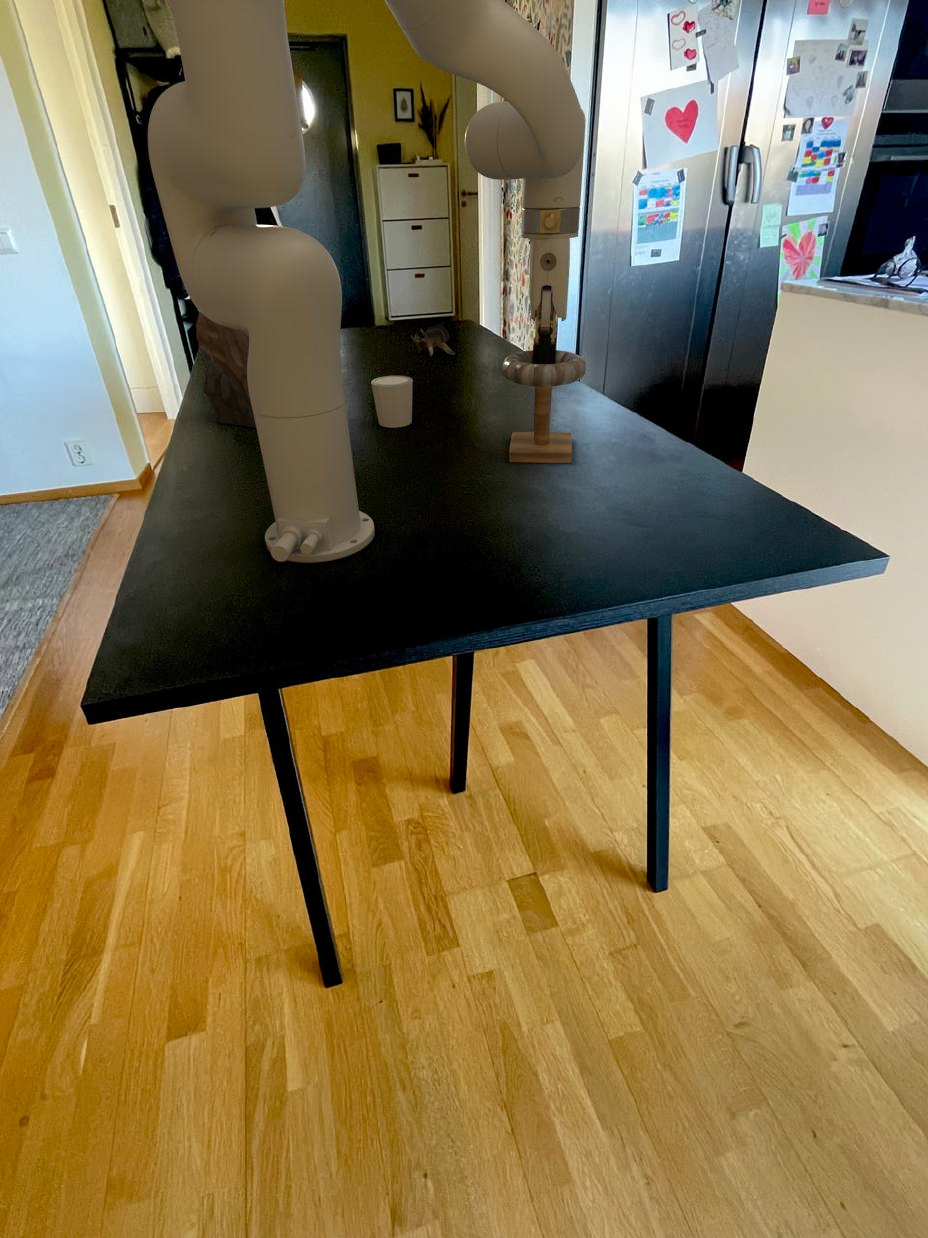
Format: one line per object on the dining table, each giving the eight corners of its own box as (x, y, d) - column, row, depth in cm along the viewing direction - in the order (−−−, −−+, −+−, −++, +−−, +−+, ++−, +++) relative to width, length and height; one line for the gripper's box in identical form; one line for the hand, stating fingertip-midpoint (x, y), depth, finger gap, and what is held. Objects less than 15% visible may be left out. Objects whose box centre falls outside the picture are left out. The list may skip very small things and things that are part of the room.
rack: (571, 463, 95) (576, 388, 90) (509, 462, 96) (510, 388, 91) (570, 441, 103) (575, 371, 97) (512, 441, 104) (513, 371, 98)
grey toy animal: (411, 353, 150) (449, 346, 148) (409, 322, 150) (446, 314, 148) (422, 365, 158) (458, 358, 155) (419, 335, 158) (456, 328, 155)
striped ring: (585, 389, 88) (587, 367, 87) (498, 388, 90) (498, 366, 88) (584, 367, 98) (585, 347, 96) (505, 367, 99) (505, 347, 98)
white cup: (409, 429, 110) (406, 386, 106) (369, 427, 111) (365, 385, 107) (419, 416, 115) (417, 375, 111) (382, 415, 116) (378, 374, 113)
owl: (208, 422, 116) (177, 296, 104) (253, 402, 125) (229, 284, 114) (268, 429, 111) (242, 299, 100) (309, 408, 121) (291, 286, 110)
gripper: (580, 228, 80) (570, 384, 90) (577, 219, 93) (568, 356, 103) (518, 229, 80) (515, 384, 91) (524, 220, 94) (520, 356, 104)
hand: (543, 368), depth 97 cm, fingers closed on striped ring, 3 cm apart
